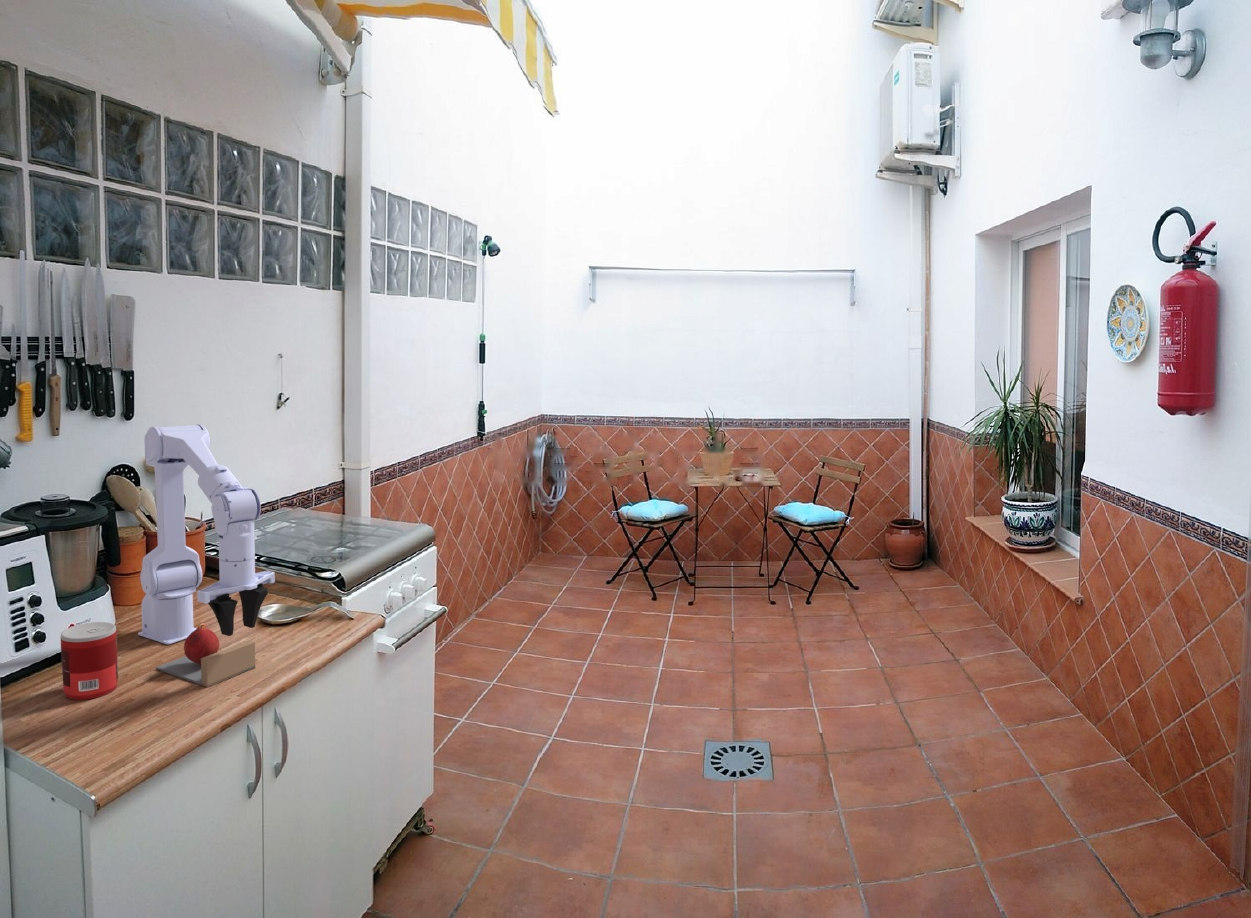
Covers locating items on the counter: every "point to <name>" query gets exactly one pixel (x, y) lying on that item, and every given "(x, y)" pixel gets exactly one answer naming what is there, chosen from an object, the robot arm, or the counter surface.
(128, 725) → the counter surface
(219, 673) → the l-shaped bracket
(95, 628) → the canned food
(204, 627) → the onion
